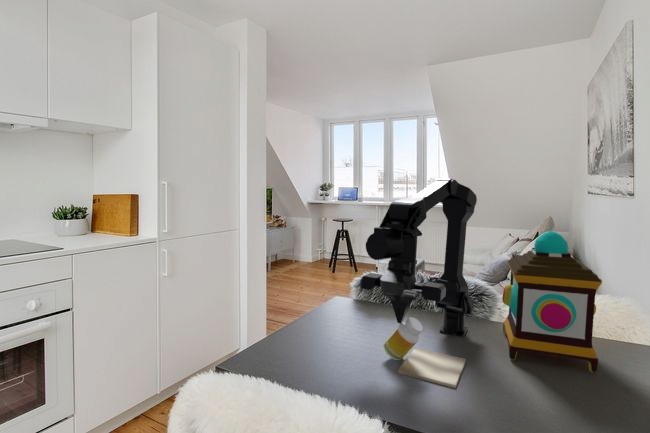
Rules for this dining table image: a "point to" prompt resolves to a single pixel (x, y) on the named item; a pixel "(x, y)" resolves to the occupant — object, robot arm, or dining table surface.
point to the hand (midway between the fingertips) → (399, 322)
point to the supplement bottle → (403, 338)
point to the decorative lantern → (551, 302)
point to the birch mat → (433, 367)
